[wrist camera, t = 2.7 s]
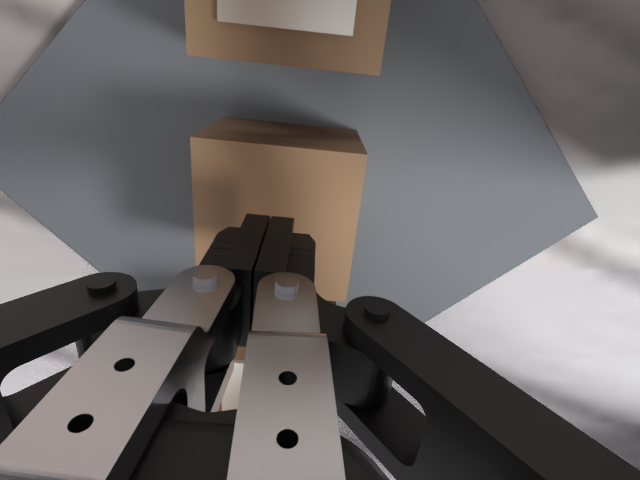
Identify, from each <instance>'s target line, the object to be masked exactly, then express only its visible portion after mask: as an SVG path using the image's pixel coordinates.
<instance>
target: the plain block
mask: <svg viewBox="0 0 640 480" xmlns="http://www.w3.org/2000/svg"><path fill="white" fill-rule="evenodd" d="M190 146H191V169H192V193H193V216H194V240H195V263H196V266H199V264H200V262H201V261H202V259H203V257H204V255H205V254H206V252H207V250H208V249H209V247H210V245H211V244H212V242H213V240H214V238H215V237H216V235H217V233H218V232H220V231H222V230H224V229H225V228H227V227H239V228H240V227H241V225H242V222H243V220H244V218H245V216H246V214H247V213H249V214H259V215H269V216H270V219H271V216H280V217H290V218H294V233H301V234H310V236H311V237H312V238H313V239H314V241H315V242H316V249H315V278H314V285H315V288H316V292H317V293H318V294H319V295H320V296H321V297H322V298H323V299H325V300H326V301H338V302H346V297H347V291H348V284H349V277H350V271H351V264H352V257H353V251H354V244H355V237H356V231H357V224H358V217H359V211H360V204H361V198H362V191H363V184H364V178H365V171H366V164H367V158H368V154H367V152H366V149H365V147H364V145H363V143H362V141H361V138H360V136H359V134H358V132H357V130H350V129H340V128H330V127H321V126H311V125H301V124H291V123H282V122H272V121H262V120H252V119H243V118H233V117H223V118H222V119H220V120H218V121H216V122H215V123H213V124H211V125H210V126H208V127H206V128H205V129H203V130H201V131H199V132H198V133H196V134H194V135H193V136H191V137H190Z"/></svg>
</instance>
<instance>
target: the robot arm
mask: <svg viewBox="0 0 640 480" xmlns="http://www.w3.org/2000/svg"><path fill="white" fill-rule="evenodd" d="M315 249H316V242H315V241H314V239H313V238H312V237H311V236H310V234H301V233H294V218H290V217H280V216H271V219H270V216H269V215H259V214H249V213H247V214H246V216H245V218H244V220H243V222H242V225H241V227H240V228H239V227H227V228H225V229H224V230H222V231H220V232H218V233H217V235H216V237H215V238H214V240H213V242H212V244H211V245H210V247H209V249H208V250H207V252H206V254H205V255H204V257H203V259H202V261H201V262H200V264H199V266H194V267H190V268H188V269H185V270H183V271H181V272H180V273H179V274H178V275H177V276H176V277H175V278H174V279H173V281H172V282H171V283H170V284H169V285H168V287H167V288H165V289H157V290H146V291H138V289H137V282H136V280H135V279H134V278H133V277H132V276H130V275H128V274H125V273H120V272H102V273H96V274H92V275H88V276H85V277H82V278H79V279H76V280H73V281H70V282H67V283H64V284H61V285H58V286H55V287H52V288H48V289H45V290H42V291H39V292H36V293H33V294H30V295H27V296H24V297H21V298H18V299H15V300H12V301H9V302H6V303H3V304H0V385H1V382H2V381H3V379H4V378H5V376H6V375H7V374H8V373H9V372H10V371H12V370H13V369H15V368H16V367H18V366H20V365H23V364H25V363H27V362H30V361H32V360H34V359H36V358H39V357H41V356H43V355H46V354H48V353H50V352H52V351H55V350H57V349H59V348H62V347H64V346H66V345H68V344H71V343H73V342H76V347H77V352H78V357H79V360H78V361H77V362H76V363H75V364H74V365H73V366H71V367H69V368H67V369H65V370H63V371H61V372H59V373H56V374H54V375H52V376H50V377H48V378H46V379H44V380H42V381H40V382H38V383H35V384H33V385H31V386H29V387H27V388H25V389H23V390H21V391H19V392H17V393H14V394H12V395H9V396H5V397H2V395H1V392H0V480H389V479H388V477H387V476H386V475H385V474H384V473H383V471H382V470H381V469H380V468H379V467H378V466H377V464H376V463H375V462H374V461H373V460H372V459H371V458H370V457H369V456H368V455H367V454H366V453H365V452H363V451H362V450H361V449H360V448H359V447H357V446H356V445H355V444H353V443H352V442H350V441H349V440H347V439H345V438H344V437H342V436H340V432H339V424H338V417H337V415H338V416H339V417H340V418H341V419H342V420H343V421H344V422H345V424H346V425H347V426H348V427H349V428H350V429H351V430H352V431H353V432H354V433H355V435H356V436H357V437H358V438H359V439H360V440H361V441H362V442H363V443H364V445H365V446H366V447H367V448H368V449H369V450H370V451H371V452H372V453H373V454H374V456H375V457H376V458H377V459H378V460H379V461H380V462H381V463H382V464H383V465H384V467H385V468H386V469H387V470H388V471H389V472H390V473H391V474H392V475H393V476H394V478H395V479H396V480H640V471H639V470H637V469H636V468H635V467H633V466H632V465H630V464H629V463H627V462H626V461H624V460H623V459H621V458H620V457H619V456H617V455H616V454H614V453H613V452H611V451H610V450H608V449H607V448H605V447H604V446H602V445H601V444H600V443H598V442H597V441H595V440H594V439H592V438H591V437H589V436H588V435H586V434H585V433H584V432H582V431H581V430H579V429H578V428H576V427H575V426H573V425H572V424H570V423H569V422H568V421H566V420H565V419H563V418H562V417H560V416H559V415H557V414H556V413H554V412H553V411H551V410H550V409H549V408H547V407H546V406H544V405H543V404H541V403H540V402H538V401H537V400H535V399H534V398H533V397H531V396H530V395H528V394H527V393H525V392H524V391H522V390H521V389H519V388H518V387H516V386H515V385H514V384H512V383H511V382H509V381H508V380H506V379H505V378H503V377H502V376H500V375H499V374H498V373H496V372H495V371H493V370H492V369H490V368H489V367H487V366H486V365H484V364H483V363H482V362H480V361H479V360H477V359H476V358H474V357H473V356H471V355H470V354H468V353H467V352H465V351H464V350H463V349H461V348H460V347H458V346H457V345H455V344H454V343H452V342H451V341H449V340H448V339H447V338H445V337H444V336H442V335H441V334H439V333H438V332H436V331H435V330H433V329H432V328H431V327H429V326H428V325H426V324H425V323H423V322H422V321H420V320H419V319H417V318H416V317H414V316H413V315H412V314H410V313H409V312H407V311H406V310H404V309H403V308H401V307H400V306H398V305H397V304H395V303H394V302H392V301H390V300H387V299H384V298H381V297H376V296H361V297H357V298H354V299H352V300H351V301H349V303H348V304H347V306H346V308H345V307H342V306H338V305H335V304H332V303H330V302H328V301H326V300H325V299H323V298H322V297H321V296H320V295H319V294H318V293H317V292H316V288H315V285H314V278H315ZM238 346H240V347H246V353H245V360H244V366H243V373H242V380H241V387H240V393H239V400H238V407H237V409H232V410H225V411H218V409H219V406H220V404H221V401H222V398H223V396H224V393H225V391H226V388H227V386H228V383H229V380H230V378H231V375H232V373H233V370H234V358H235V356H236V353H237V349H238ZM393 380H394V381H395V382H396V383H397V384H399V385H400V386H401V387H402V388H403V389H404V390H405V391H407V392H408V393H409V394H410V395H411V396H412V397H414V398H415V399H416V400H417V401H418V402H419V404H420V405H421V407H422V408H423V410H424V412H425V415H426V416H425V415H423V414H422V413H421V412H420V411H419V410H418V409H417V408H416V407H414V406H413V405H412V404H411V403H410V402H409V401H408V400H407V399H405V398H404V397H403V396H402V395H401V394H400V393H399V392H398V391H396V390H395V389H394V388H393V387H392V386H391V385H392V381H393Z"/></svg>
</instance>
